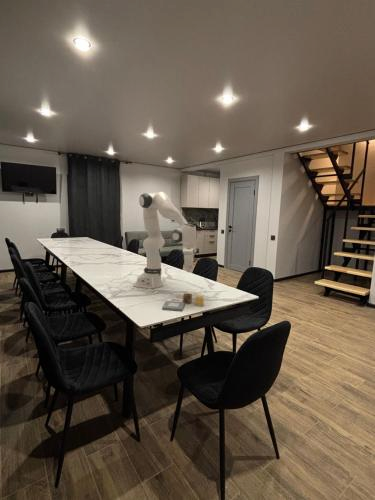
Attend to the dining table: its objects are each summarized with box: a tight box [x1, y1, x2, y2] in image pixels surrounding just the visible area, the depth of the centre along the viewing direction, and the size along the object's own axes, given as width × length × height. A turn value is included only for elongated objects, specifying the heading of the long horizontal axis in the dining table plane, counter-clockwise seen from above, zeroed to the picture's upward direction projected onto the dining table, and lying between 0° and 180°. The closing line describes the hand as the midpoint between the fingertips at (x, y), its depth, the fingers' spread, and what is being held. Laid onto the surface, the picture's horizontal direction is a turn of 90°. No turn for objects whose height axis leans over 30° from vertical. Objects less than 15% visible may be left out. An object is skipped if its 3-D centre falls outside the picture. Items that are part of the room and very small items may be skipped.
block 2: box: [194, 295, 205, 307], centre depth 168 cm, size 5×5×5 cm
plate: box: [161, 300, 186, 312], centre depth 162 cm, size 12×12×1 cm
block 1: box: [182, 292, 193, 304], centre depth 172 cm, size 5×5×5 cm
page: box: [166, 297, 183, 302], centre depth 174 cm, size 10×7×1 cm
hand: (189, 270), depth 172 cm, fingers open, 8 cm apart
